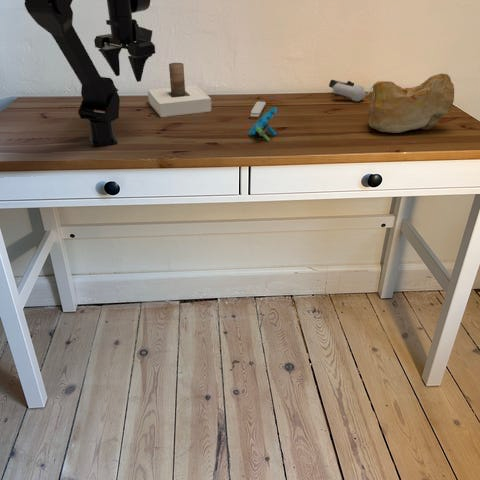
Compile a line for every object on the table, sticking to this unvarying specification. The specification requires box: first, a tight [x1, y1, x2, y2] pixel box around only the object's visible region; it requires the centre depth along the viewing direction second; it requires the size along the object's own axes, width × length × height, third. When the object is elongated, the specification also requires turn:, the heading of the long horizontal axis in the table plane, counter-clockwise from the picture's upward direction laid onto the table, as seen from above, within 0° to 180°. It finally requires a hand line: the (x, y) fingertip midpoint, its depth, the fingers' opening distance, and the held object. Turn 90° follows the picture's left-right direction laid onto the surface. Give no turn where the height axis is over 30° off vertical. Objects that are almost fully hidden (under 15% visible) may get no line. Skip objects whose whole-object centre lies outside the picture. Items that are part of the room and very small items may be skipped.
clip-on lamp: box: [328, 79, 375, 103], centre depth 157 cm, size 12×6×18 cm
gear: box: [248, 106, 278, 142], centre depth 126 cm, size 11×6×10 cm
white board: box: [147, 84, 212, 118], centre depth 148 cm, size 16×16×4 cm
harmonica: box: [248, 101, 267, 120], centre depth 145 cm, size 15×3×2 cm, turn 168°
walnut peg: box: [168, 62, 186, 98], centre depth 145 cm, size 5×5×13 cm
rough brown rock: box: [367, 73, 455, 134], centre depth 132 cm, size 23×17×15 cm
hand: (128, 78), depth 127 cm, fingers open, 9 cm apart
